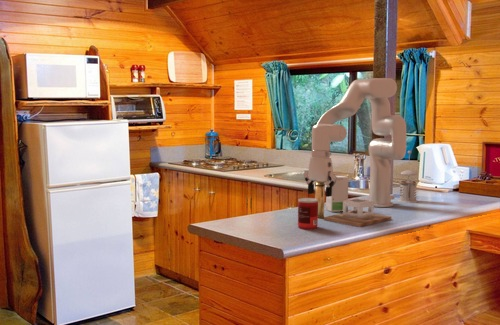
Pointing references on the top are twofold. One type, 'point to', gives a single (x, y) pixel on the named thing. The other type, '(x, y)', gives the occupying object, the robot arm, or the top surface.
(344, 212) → the collar cage
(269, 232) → the top surface
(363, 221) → the stand board
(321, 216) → the brass tube
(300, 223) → the canned food
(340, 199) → the skincare box
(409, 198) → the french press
